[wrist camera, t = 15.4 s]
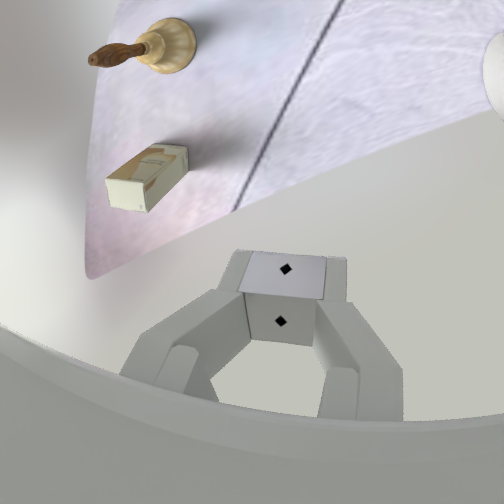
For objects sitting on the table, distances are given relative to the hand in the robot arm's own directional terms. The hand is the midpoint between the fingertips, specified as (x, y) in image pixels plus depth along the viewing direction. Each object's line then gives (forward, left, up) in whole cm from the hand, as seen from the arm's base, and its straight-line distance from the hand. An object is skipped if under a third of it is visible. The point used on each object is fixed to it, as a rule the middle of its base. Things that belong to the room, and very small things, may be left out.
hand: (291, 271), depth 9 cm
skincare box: (+23, +9, -33) cm, 42 cm away
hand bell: (+20, -8, -33) cm, 40 cm away
